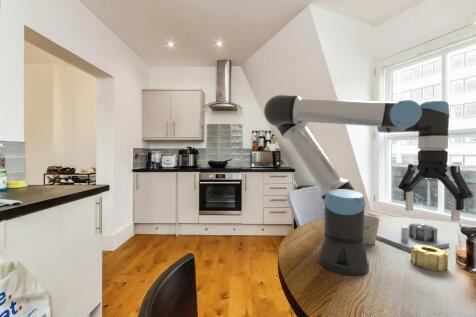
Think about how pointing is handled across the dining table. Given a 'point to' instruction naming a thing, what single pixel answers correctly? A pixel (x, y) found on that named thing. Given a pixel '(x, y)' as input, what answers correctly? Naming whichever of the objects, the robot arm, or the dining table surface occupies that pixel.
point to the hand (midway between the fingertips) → (430, 215)
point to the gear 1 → (423, 232)
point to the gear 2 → (429, 257)
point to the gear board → (411, 242)
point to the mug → (370, 229)
